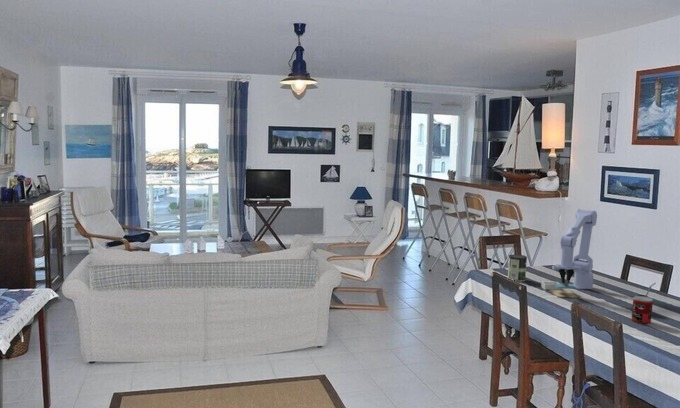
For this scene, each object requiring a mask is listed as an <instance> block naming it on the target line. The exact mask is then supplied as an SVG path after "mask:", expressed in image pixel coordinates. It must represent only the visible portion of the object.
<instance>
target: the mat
mask: <svg viewBox="0 0 680 408" xmlns="http://www.w3.org/2000/svg"><path fill="white" fill-rule="evenodd" d="M549 293H551V294H553V295H554V296H555V297H556V296H557V297H556V298H565V299H566V298H568V299H569V298H572V299H580V298H581V296H580V295H578V294H577V293H576V292H574V291H572V290H568V289H567V290H565V289H564V290H563V289H561V290H549Z"/></svg>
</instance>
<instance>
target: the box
mask: <svg viewBox="0 0 680 408" xmlns="http://www.w3.org/2000/svg"><path fill="white" fill-rule="evenodd" d="M547 283H548V284H547ZM554 283H555V284H561V283H560V282H558V281H543V280H542V281H541V283H540V286H541V288H542V289H543V290H545V291H546V290H562V288H557V287H556V286H554Z"/></svg>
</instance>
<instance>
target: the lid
mask: <svg viewBox="0 0 680 408" xmlns="http://www.w3.org/2000/svg"><path fill="white" fill-rule="evenodd" d="M568 282H569V281H568V280H566V278H565V283H564V284H563V283H562V282H561V283H560V284H555V283H554V286H556V287H557V288H561V290H563V289H564V290H565V289H567V290H570V289H571V290H577V289H576V287H575V286H574V285H572V284H573V283H570V282H569V284H568Z"/></svg>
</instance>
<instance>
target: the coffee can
mask: <svg viewBox="0 0 680 408" xmlns="http://www.w3.org/2000/svg"><path fill="white" fill-rule="evenodd" d="M527 260H528V256H526V255H525V254H524V255H523V254H509V255H508V267H507V269H508V271H507V279H508V278H510V279H513V280H515V281H514V282H519V283H520V282H521V283H523V282H526V277H527V275H526V273H527Z"/></svg>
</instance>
